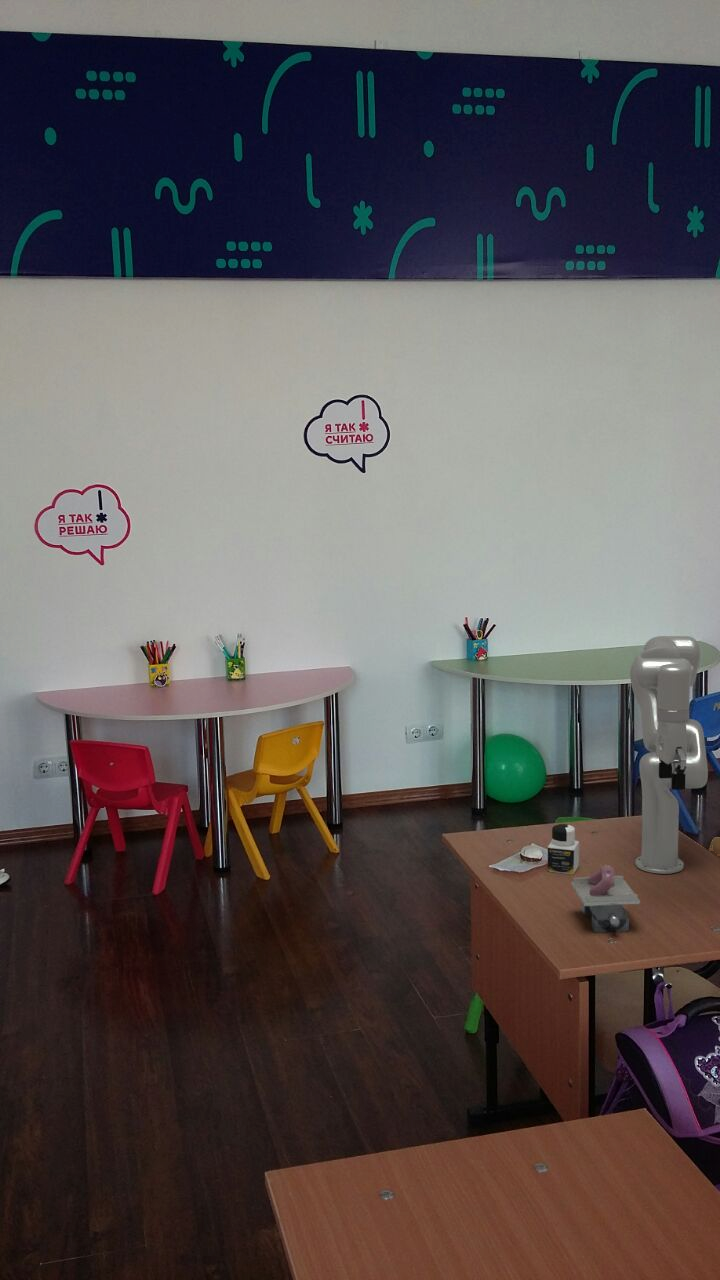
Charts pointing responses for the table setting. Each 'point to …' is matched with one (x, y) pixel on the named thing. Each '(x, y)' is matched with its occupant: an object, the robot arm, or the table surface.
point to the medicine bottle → (563, 850)
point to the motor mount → (606, 904)
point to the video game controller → (602, 880)
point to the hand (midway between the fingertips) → (671, 783)
